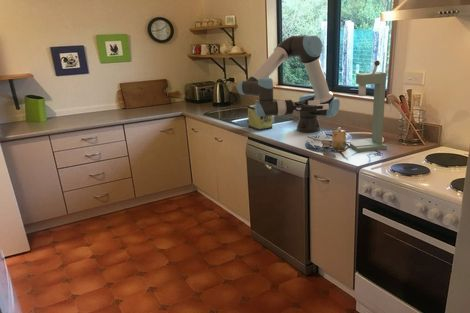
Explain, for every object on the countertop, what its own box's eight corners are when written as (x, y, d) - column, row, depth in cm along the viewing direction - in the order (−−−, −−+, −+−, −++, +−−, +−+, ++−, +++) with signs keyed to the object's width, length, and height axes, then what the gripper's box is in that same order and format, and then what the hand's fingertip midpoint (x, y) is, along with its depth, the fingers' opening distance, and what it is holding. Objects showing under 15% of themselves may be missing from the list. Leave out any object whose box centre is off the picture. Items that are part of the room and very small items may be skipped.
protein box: (260, 131, 249) (259, 108, 244) (248, 127, 262) (247, 105, 257) (272, 128, 253) (272, 106, 249) (260, 124, 267) (259, 103, 262)
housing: (330, 148, 203) (330, 126, 199) (342, 146, 203) (342, 125, 200) (334, 151, 196) (335, 129, 193) (347, 150, 197) (348, 128, 193)
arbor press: (345, 144, 208) (347, 60, 194) (372, 141, 210) (376, 58, 195) (357, 152, 193) (360, 62, 179) (386, 149, 194) (392, 59, 180)
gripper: (279, 110, 207) (316, 107, 209) (290, 119, 183) (332, 115, 185) (279, 97, 205) (316, 94, 206) (290, 104, 181) (332, 100, 183)
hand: (323, 104), depth 196 cm, fingers open, 13 cm apart
